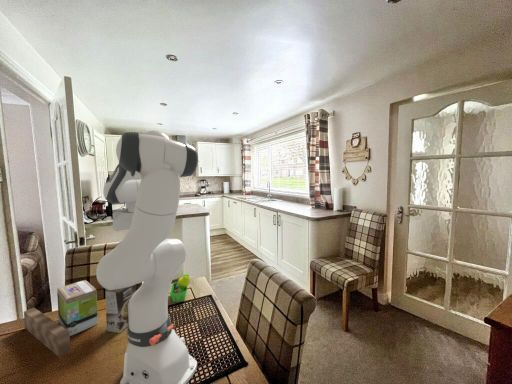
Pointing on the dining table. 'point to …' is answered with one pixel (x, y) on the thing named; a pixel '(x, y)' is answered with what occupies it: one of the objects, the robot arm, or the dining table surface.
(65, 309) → the tea box
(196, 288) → the dining table surface
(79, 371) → the dining table surface
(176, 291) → the fruit basket
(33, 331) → the grey-brown long bar
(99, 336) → the dining table surface
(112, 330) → the coffee box
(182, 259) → the robot arm
